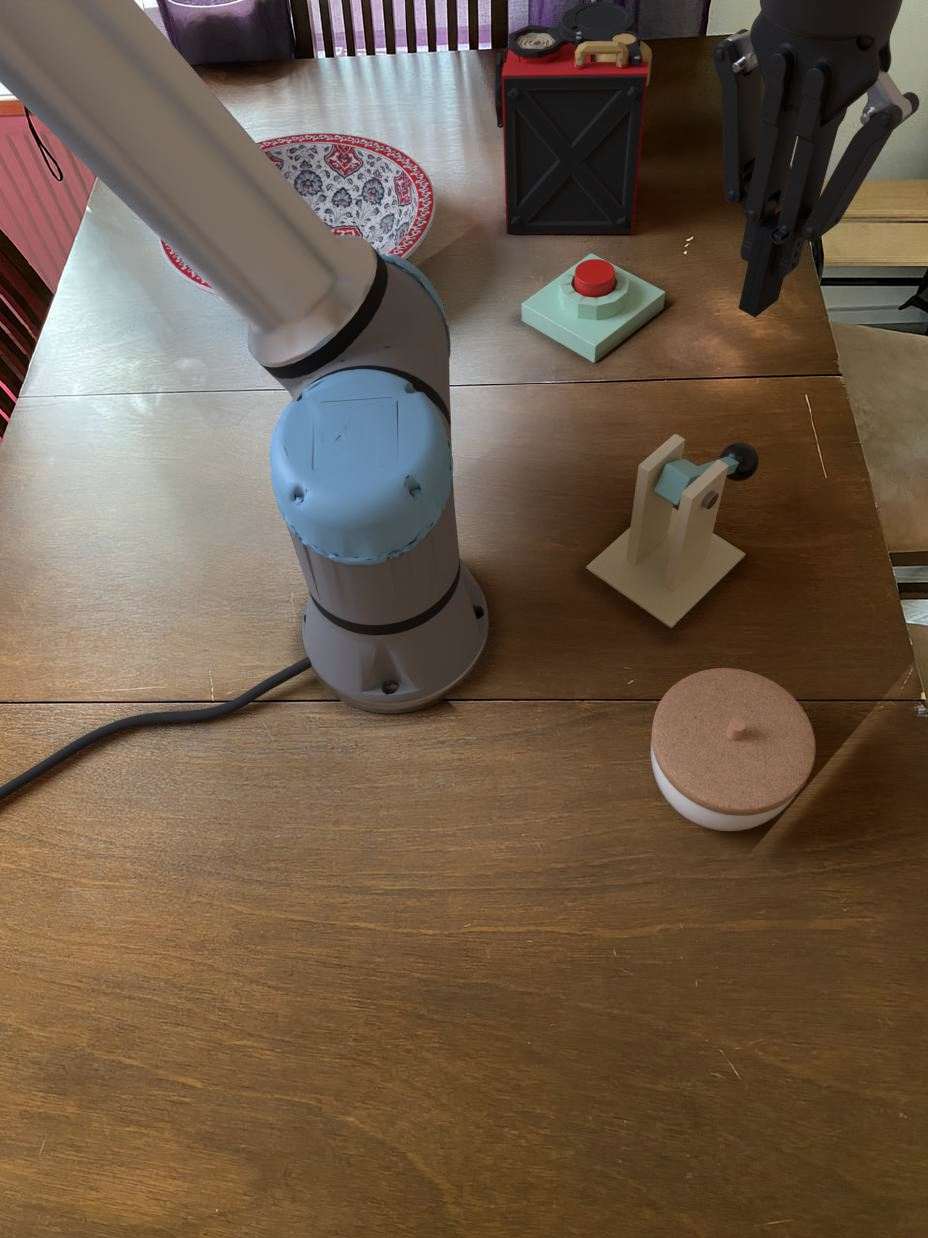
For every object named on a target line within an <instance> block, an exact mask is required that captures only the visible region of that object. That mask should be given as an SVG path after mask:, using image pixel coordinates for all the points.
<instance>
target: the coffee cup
mask: <svg viewBox="0 0 928 1238" xmlns="http://www.w3.org/2000/svg"><path fill="white" fill-rule="evenodd" d="M555 28H557V29H558V31H559V34H560V36H563V37H567V38H571V35H572V33H573V32H574V30H575V29H597V30H622V31H634V32H635V33H636V34H637V35H638V36H639V37H640V28H639V25H638V24H637V22H636V21H635V18H634V14H633V13H632V12H631V11H630V9H628V8H627V7H625V6H623V5H621V4H618V3H615V2H605V1H592V2H586V3H585V2H584V3H581V4H578V5H575V6H573V7H571V8H569V9H567V10H566V11H565V12H564V13H563V14H562V16H561V19H560V22H559V23H558V24H557V25H556V27H555ZM640 38H641V37H640ZM593 62H594V54H593Z"/></svg>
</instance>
